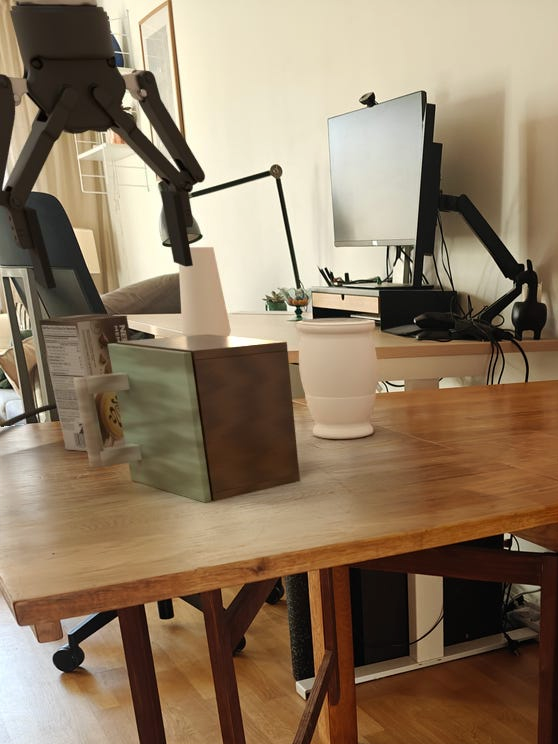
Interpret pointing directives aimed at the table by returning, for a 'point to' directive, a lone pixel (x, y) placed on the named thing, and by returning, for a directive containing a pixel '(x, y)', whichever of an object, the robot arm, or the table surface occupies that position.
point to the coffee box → (83, 371)
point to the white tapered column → (202, 296)
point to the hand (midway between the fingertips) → (118, 274)
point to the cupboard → (241, 410)
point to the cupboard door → (150, 419)
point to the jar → (339, 375)
